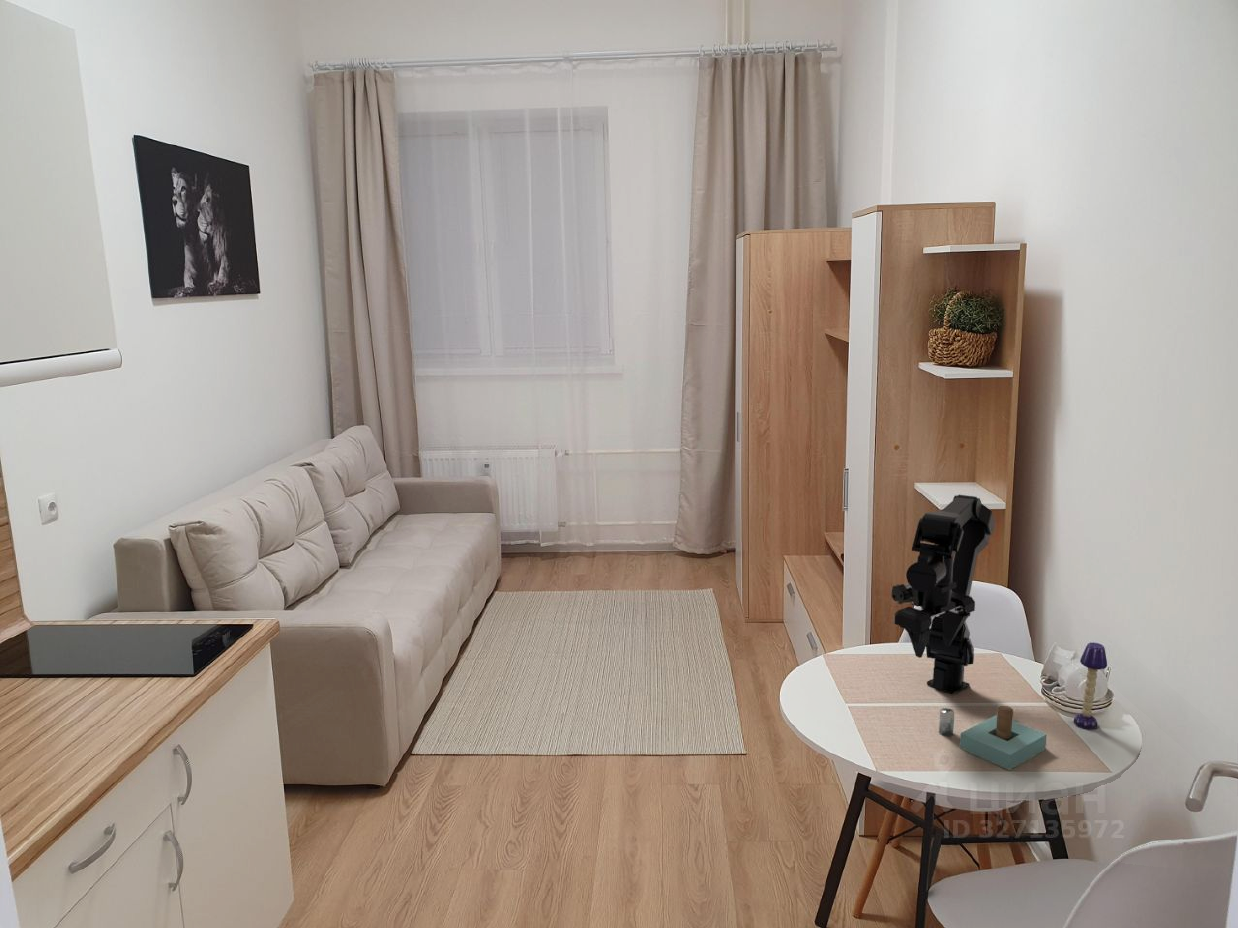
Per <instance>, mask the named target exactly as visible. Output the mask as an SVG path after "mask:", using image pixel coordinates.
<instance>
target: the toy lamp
mask: <svg viewBox="0 0 1238 928" xmlns="http://www.w3.org/2000/svg"><path fill="white" fill-rule="evenodd" d="M1079 662H1080V664H1081V665H1082V666H1084V667H1086V668H1087V672H1086V678H1087V679H1086V681H1085V687H1084V692H1085V693H1084V694H1083V702H1082V709H1081V713H1079V714H1077V715H1075V717H1074V719H1073V723H1074V724H1075V726H1077V727H1079V728H1082V729H1085V730H1095V729H1097V728H1098V725H1099V724H1098V721H1097V718H1096V717H1094V716H1093V715H1092V713H1093V712H1092V711H1093V710H1092V709H1093V706H1094V704H1093V702H1094V700H1095V692H1096V689H1095V688H1096V685H1097V678H1098V671H1099V670H1105V669H1107V667H1108V659H1107V653H1106V648H1105V646H1104V645H1103V644H1101V643H1098V642H1094V641H1093V642H1088V643H1087V645H1086V646H1085V648H1084V650H1083V653H1082V655H1081V657H1080V661H1079Z"/></svg>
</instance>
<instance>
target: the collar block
mask: <svg viewBox="0 0 1238 928" xmlns="http://www.w3.org/2000/svg"><path fill="white" fill-rule="evenodd" d="M996 726H997V714H996V715H993V716H991V717H990V718H987V719H986V720H983V721H982V722H979V723H978V724H976V725H974V726H972V727H970V728H968V729H966V730H964V731H962V732H961V733H960V734H959V735H960V736H959V737H960V738H959V749H961V750H963V751H966V752H968V753H971V754H972V755H974V756H977V757H979V758H981V759H983V760H986V761H987V762H990V763H993V764H994V765H997V766H999V767H1002V768H1003V769H1005V770H1008V771H1010V770H1011V769H1013V768H1015V767H1017V766H1018V765H1020V764H1023V763H1024V762H1026V761H1027V760H1029V759H1031V758H1033V757H1035V756H1036V755H1038V754H1039V753H1042V752H1043V751H1045V750H1046V748H1047V739H1048V738H1047V736H1048V734H1047V733H1045V732H1043V731H1039V730H1038V729H1035V728H1032V727H1030V726H1028V725H1025V724H1022V723H1020V722H1017V721H1015V720H1013V719H1012V731H1011V740H1009V741H1006V740H1003V739H1001V738H999V737H996Z"/></svg>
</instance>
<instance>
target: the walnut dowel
mask: <svg viewBox="0 0 1238 928" xmlns="http://www.w3.org/2000/svg"><path fill="white" fill-rule="evenodd" d="M996 715H997V726H996V737H999V738H1001V739H1003V740H1006V741H1009V740H1011V731H1012V720H1013V718H1014V716H1013V715H1014V708H1012V707H1011V706H1008V705H999V706H998V707H997V713H996Z"/></svg>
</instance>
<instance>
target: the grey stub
mask: <svg viewBox="0 0 1238 928" xmlns="http://www.w3.org/2000/svg"><path fill="white" fill-rule="evenodd" d="M954 726H955V710H954V709H951V708H949V707H946V708H945V707H944V708H940V710H939V727H938V733H939V734H940V735H941V736H944V737H952V736H953V735H954V729H955V728H954Z"/></svg>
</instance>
